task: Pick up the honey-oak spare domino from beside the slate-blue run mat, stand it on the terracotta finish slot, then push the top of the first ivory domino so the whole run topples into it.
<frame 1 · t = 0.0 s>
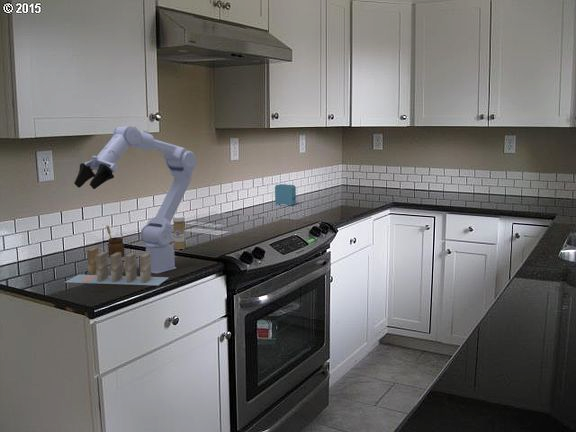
hand: (84, 186, 195), 32 cm above the countertop, tool tilted 50°, fingers open, 7 cm apart
domino 1: (146, 280, 207), resting on run mat
domino 2: (131, 280, 208), resting on run mat
domino 3: (117, 279, 209), resting on run mat
domino 4: (102, 279, 209), resting on run mat
spare domino: (94, 273, 219), on the countertop
data package: (285, 205, 380), on the countertop
run mat: (117, 280, 209), on the countertop
utensil holder: (116, 256, 246), on the countertop
sprinkles bottle: (179, 249, 258), on the countertop
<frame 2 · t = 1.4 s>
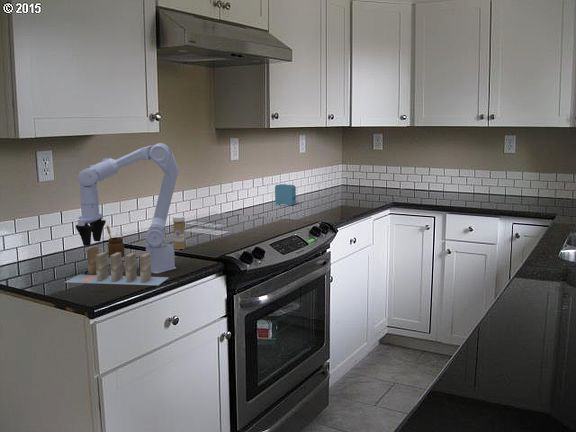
hand: (92, 243, 218), 10 cm above the countertop, tool pointing down, fingers open, 7 cm apart
nothing on the countertop moved.
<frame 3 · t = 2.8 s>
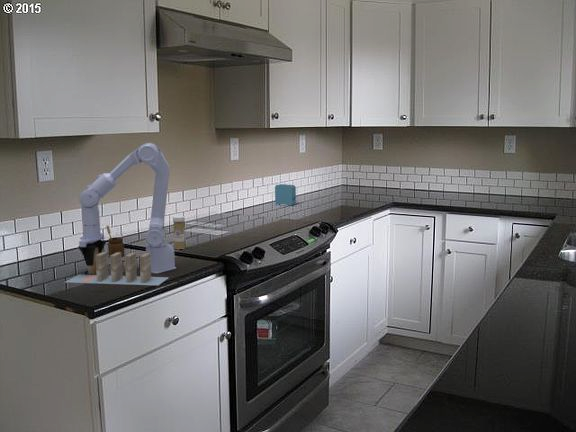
hand: (93, 263, 219), 3 cm above the countertop, tool pointing down, fingers closed on spare domino, 5 cm apart
spare domino: (94, 273, 219), on the countertop, touching gripper
everything else where it was.
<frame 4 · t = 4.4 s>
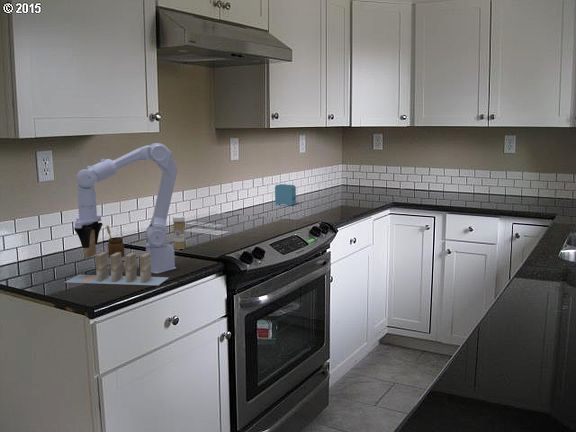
hand: (89, 245, 214), 10 cm above the countertop, tool pointing down, fingers closed on spare domino, 5 cm apart
spare domino: (90, 255, 214), point 7 cm above the countertop, touching gripper
everything else where it was.
when the fingers open (5 cm above the countertop, at t = 6.3 s): spare domino drops 1 cm, resting on run mat.
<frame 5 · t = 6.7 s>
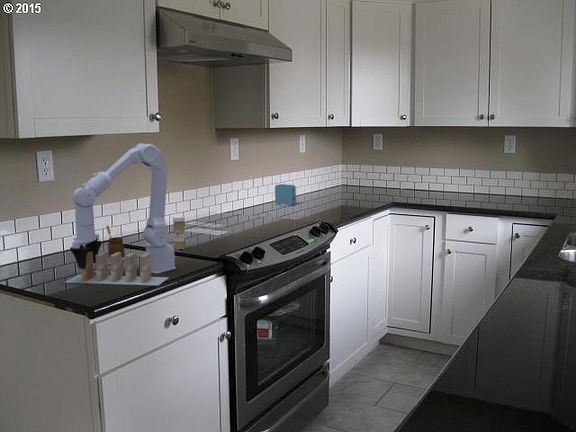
hand: (87, 265, 209), 5 cm above the countertop, tool pointing down, fingers open, 7 cm apart
spare domino: (88, 278, 210), resting on run mat
everything else where it was.
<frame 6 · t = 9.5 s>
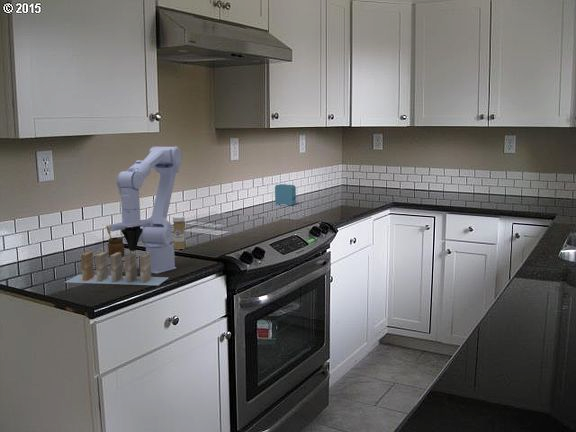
hand: (132, 250, 206), 10 cm above the countertop, tool pointing down, fingers closed
nothing on the countertop moved.
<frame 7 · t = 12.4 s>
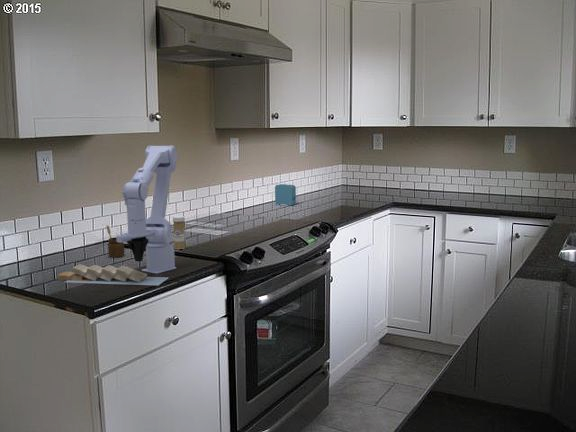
hand: (138, 260, 206), 7 cm above the countertop, tool pointing down, fingers closed
domino 1: (143, 278, 207), point 1 cm above the countertop, tilted 71°, touching domino 2, run mat
domino 2: (128, 277, 208), point 1 cm above the countertop, tilted 72°, touching domino 1, domino 3, run mat
domino 3: (114, 277, 209), point 1 cm above the countertop, tilted 71°, touching domino 2, domino 4, run mat
domino 4: (99, 276, 209), point 1 cm above the countertop, tilted 71°, touching domino 3, run mat, spare domino
spare domino: (85, 276, 210), point 1 cm above the countertop, tilted 90°, touching domino 4, run mat
everything else where it was.
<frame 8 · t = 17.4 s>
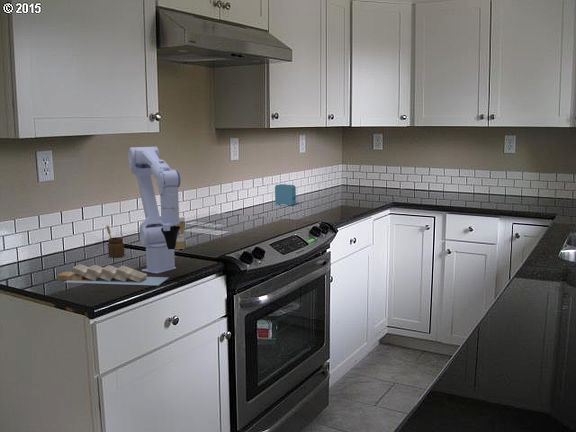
hand: (171, 249, 207), 10 cm above the countertop, tool pointing down, fingers closed
nothing on the countertop moved.
at the end: spare domino tilted 90°; spare domino inside the target area on the run mat (1.2 cm from its centre), point 1.2 cm above the run mat's base; the gripper is holding nothing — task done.
